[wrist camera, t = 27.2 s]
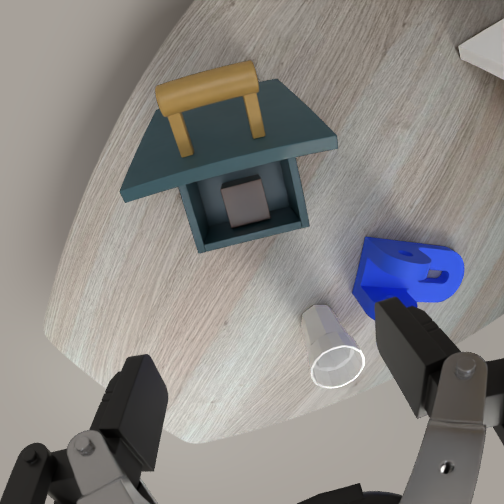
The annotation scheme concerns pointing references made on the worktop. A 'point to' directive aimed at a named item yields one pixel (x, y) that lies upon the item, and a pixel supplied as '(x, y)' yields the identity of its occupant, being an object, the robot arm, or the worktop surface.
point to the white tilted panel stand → (486, 50)
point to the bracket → (405, 273)
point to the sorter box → (222, 235)
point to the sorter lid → (221, 129)
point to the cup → (330, 348)
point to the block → (245, 201)
